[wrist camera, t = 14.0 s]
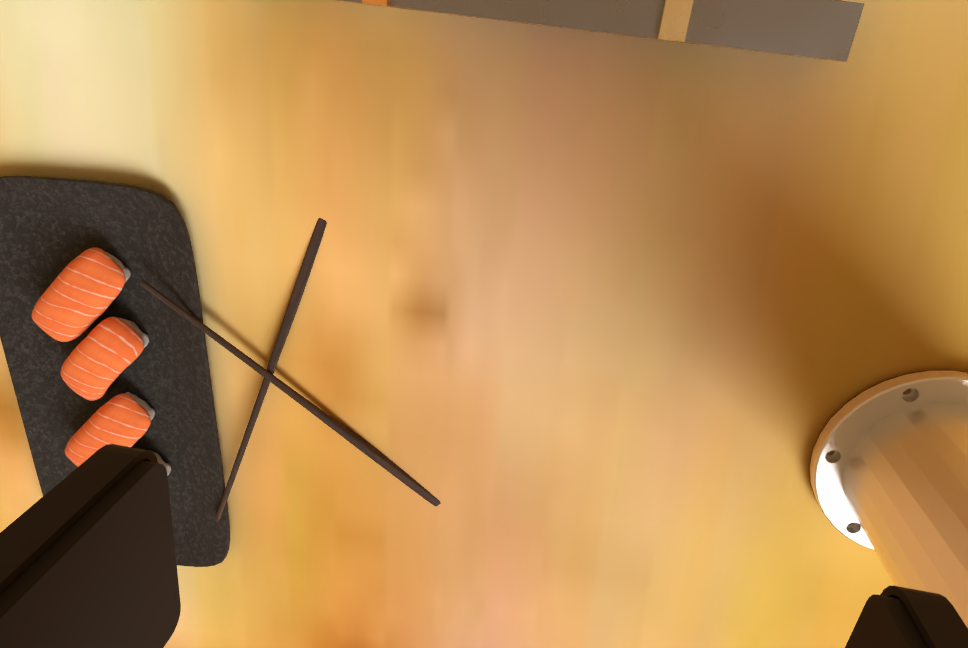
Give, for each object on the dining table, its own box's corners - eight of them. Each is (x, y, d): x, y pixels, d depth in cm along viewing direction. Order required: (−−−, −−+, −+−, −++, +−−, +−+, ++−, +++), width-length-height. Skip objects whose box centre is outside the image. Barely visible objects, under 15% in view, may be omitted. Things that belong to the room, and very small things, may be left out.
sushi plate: (-20, 165, 42) (-74, 177, 38) (451, 202, 39) (438, 218, 35) (73, 532, 53) (37, 566, 50) (441, 583, 50) (430, 624, 47)
